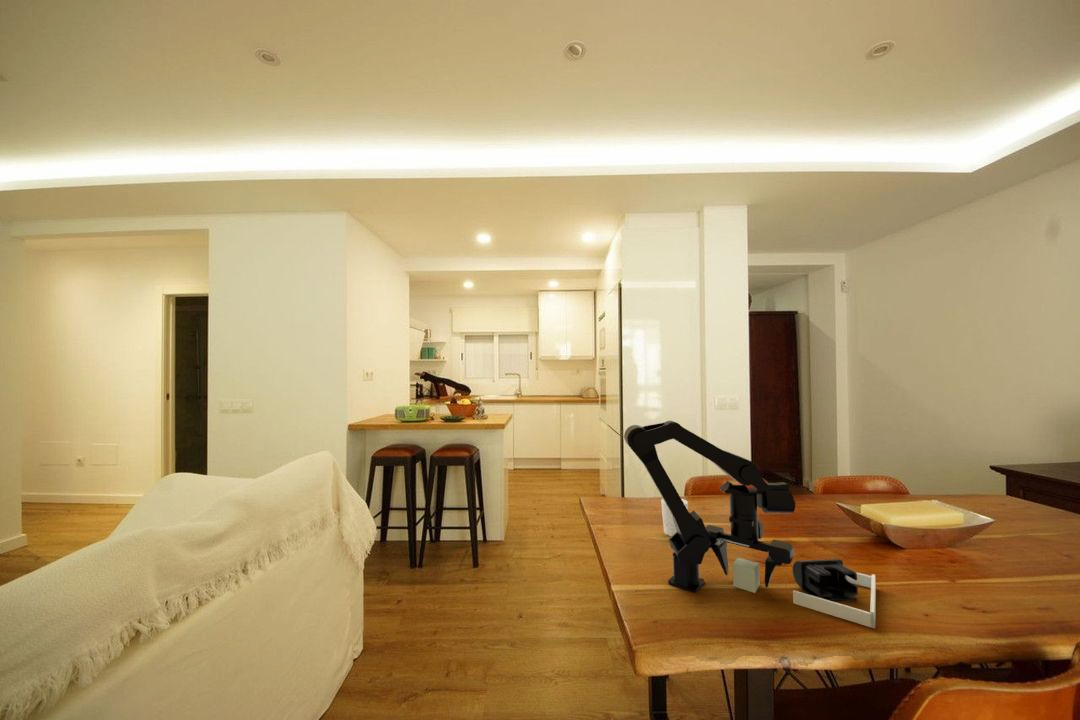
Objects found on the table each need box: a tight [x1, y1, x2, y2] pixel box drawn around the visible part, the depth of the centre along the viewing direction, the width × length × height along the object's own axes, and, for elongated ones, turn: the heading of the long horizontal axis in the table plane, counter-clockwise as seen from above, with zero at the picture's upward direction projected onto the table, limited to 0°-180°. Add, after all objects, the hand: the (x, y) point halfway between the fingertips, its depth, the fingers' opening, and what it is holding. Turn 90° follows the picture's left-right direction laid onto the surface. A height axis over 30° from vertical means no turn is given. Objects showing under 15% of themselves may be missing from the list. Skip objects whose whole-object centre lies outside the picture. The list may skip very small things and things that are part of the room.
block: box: [732, 557, 761, 594], centre depth 90 cm, size 4×4×5 cm
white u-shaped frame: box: [792, 572, 877, 629], centre depth 85 cm, size 19×13×3 cm
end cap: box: [792, 558, 859, 603], centre depth 86 cm, size 10×7×7 cm
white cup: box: [660, 498, 689, 538], centre depth 121 cm, size 8×8×10 cm
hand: (746, 580), depth 90 cm, fingers open, 8 cm apart
